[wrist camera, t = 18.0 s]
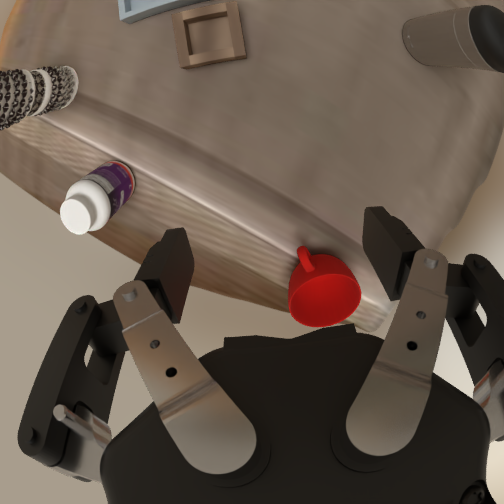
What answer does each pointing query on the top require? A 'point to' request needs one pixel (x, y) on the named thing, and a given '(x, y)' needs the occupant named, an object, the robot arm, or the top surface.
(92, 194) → the pill bottle
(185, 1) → the tray
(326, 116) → the top surface
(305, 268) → the ceramic cup
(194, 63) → the square wooden frame
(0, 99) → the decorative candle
